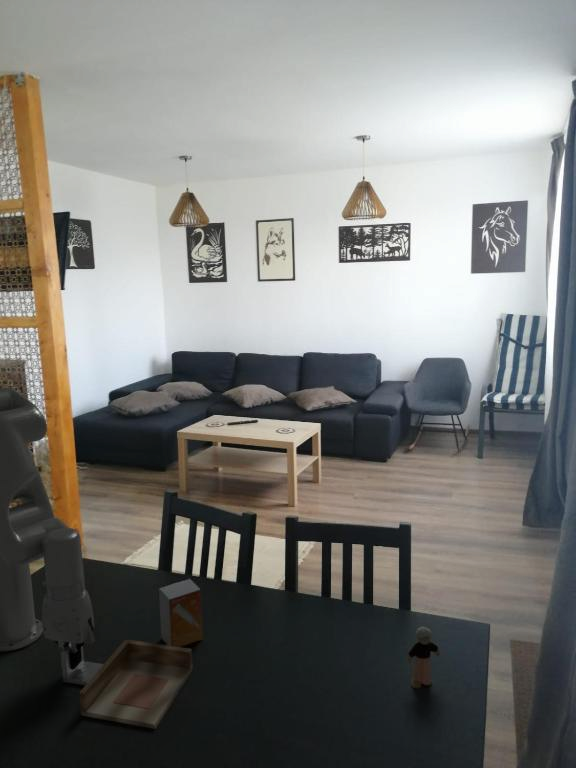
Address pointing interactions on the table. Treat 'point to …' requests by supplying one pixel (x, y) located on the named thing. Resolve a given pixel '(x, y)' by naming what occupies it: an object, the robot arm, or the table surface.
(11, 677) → the table surface
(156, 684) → the wooden tray
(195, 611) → the small box
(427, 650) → the grandmother figurine
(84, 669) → the bracket
